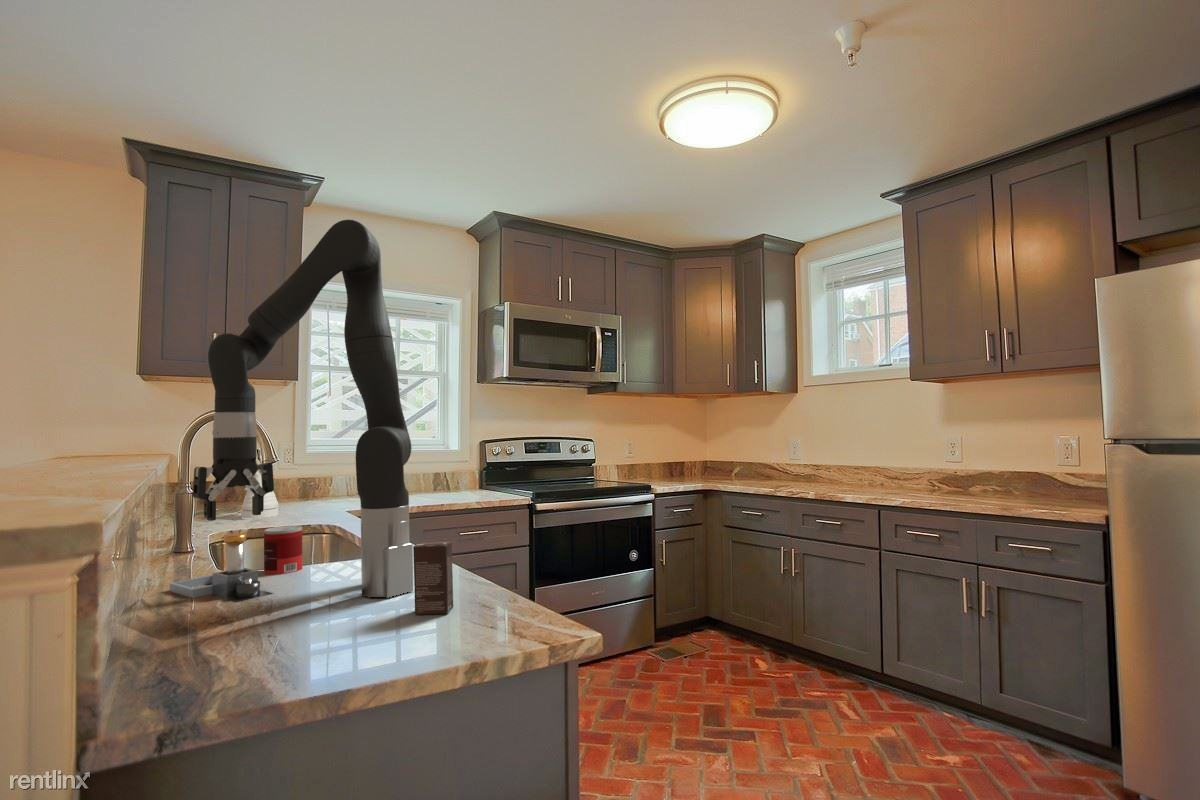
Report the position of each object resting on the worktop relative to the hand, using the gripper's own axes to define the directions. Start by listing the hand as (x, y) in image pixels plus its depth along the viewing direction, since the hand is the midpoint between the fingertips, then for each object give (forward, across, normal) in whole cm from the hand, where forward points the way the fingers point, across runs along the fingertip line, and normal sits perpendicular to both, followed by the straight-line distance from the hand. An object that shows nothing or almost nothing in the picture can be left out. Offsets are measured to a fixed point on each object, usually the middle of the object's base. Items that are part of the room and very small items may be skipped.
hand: (234, 517), depth 123 cm
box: (+16, +15, -41) cm, 47 cm away
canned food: (+16, +16, +11) cm, 25 cm away
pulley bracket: (+16, 0, -2) cm, 16 cm away
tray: (+16, -2, +9) cm, 18 cm away
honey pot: (+17, +66, +122) cm, 140 cm away
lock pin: (+15, 0, 0) cm, 15 cm away
